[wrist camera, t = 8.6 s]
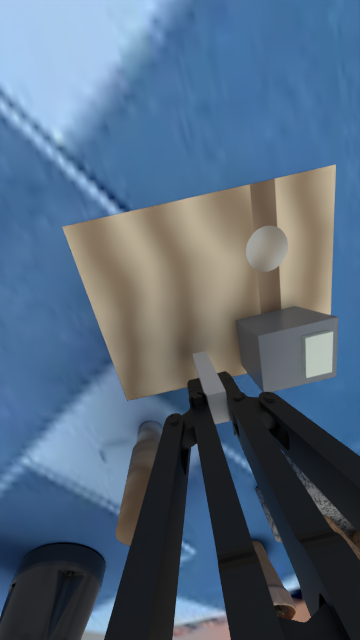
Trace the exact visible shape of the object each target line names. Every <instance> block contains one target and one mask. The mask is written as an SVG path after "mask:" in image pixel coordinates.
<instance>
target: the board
mask: <svg viewBox="0 0 360 640" xmlns="http://www.w3.org/2000/svg"><path fill="white" fill-rule="evenodd" d="M335 172H336V165H332V166H328V167H323V168H319V169H315V170H310V171H306V172H301V173H297V174H293V175H288V176H284V177H279V178H275V179H272V180H267V181H263V182H259V183H254V184H249V185H244V186H240V187H235V188H231V189H227V190H222V191H218V192H213V193H209V194H205V195H200V196H196V197H191V198H187V199H183V200H178V201H174V202H169V203H165V204H161V205H156V206H152V207H147V208H143V209H139V210H134V211H130V212H125V213H121V214H117V215H112V216H108V217H103V218H99V219H95V220H90V221H86V222H81V223H77V224H73V225H68V226H64V227H63V230H64V233H65V235H66V238H67V241H68V244H69V246H70V249H71V252H72V254H73V257H74V260H75V262H76V265H77V268H78V270H79V273H80V276H81V278H82V281H83V284H84V286H85V289H86V292H87V294H88V297H89V300H90V302H91V305H92V308H93V311H94V313H95V316H96V319H97V321H98V324H99V327H100V329H101V332H102V335H103V337H104V340H105V343H106V345H107V348H108V351H109V353H110V356H111V359H112V361H113V364H114V367H115V370H116V372H117V375H118V378H119V380H120V383H121V386H122V388H123V391H124V394H125V396H126V399H127V401H129V400H133V399H138V398H142V397H146V396H151V395H155V394H159V393H164V392H168V391H172V390H177V389H181V388H186V387H188V386H187V383H188V381H189V380H191V379H196V378H198V377H197V373H196V368H195V364H194V359H193V354H194V353H199V352H203V351H206V352H207V354H208V356H209V358H210V360H211V362H212V364H213V366H214V368H215V370H216V372H217V373H220V372H224V371H226V372H228V373H229V374H230V375H231V377H234V376H238V375H242V374H247V372H246V370H245V369H244V368H243V366H242V363H241V356H240V348H239V341H238V334H237V327H236V320H239V319H243V318H247V317H252V316H256V315H260V314H264V313H268V312H273V311H277V310H281V309H285V308H290V307H294V306H297V307H301V308H305V309H309V310H313V311H317V312H320V313H324V314H328V315H331V287H332V259H333V230H334V201H335Z"/></svg>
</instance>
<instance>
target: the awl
mask: <svg viewBox="0 0 360 640" xmlns="http://www.w3.org/2000/svg"><path fill="white" fill-rule="evenodd" d="M162 431H163V429H162V426H161V425H160V424H159V423H157V422H155V421H148V422H145V423H143V424H142V425H141V426H140V428H139V432H138V438H137V443H136V445H135V446H134V448H133V451H132V456H131V461H130V465H129V470H128V475H127V480H126V485H125V490H124V494H123V499H122V504H121V509H120V514H119V519H118V524H117V528H116V537H117V539H118V540H119V541H120V542H121V543H123V544H125V545H128V546H131V542H132V538H133V535H134V531H135V528H136V524H137V521H138V517H139V513H140V510H141V506H142V503H143V499H144V495H145V492H146V488H147V485H148V481H149V478H150V474H151V470H152V467H153V463H154V460H155V456H156V453H157V449H158V445H159V442H160V438H161V435H162Z"/></svg>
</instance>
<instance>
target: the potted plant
mask: <svg viewBox="0 0 360 640" xmlns="http://www.w3.org/2000/svg"><path fill="white" fill-rule="evenodd" d="M252 543H253V546H254V549H255V551H256V553H257V555H258V558H259V561H260V564H261V567H262V570H263V573H264V576H265V579H266V582H267V585H268V588H269V591H270V594H271V597H272V600H273V604H274V607H275V610H276V613H277V616H279V617H283V618H287V619H291V620H293V619H294V618H295V617H296V615H297V609H296V606H295V604H294V602H293V600H292V597H291V595H290V593H289V592H288V591H287V590H286V589H285V588H284V586H283V584H282V582H281V581H280V579H279V577H278V575H277V573H276V571H275V569H274V568H273V566H272V564H271V562H270V560H269V558H268V556H267V553H266V551H265V549H264V547H263V546H262V544H261V543H260V542H258V541H252Z"/></svg>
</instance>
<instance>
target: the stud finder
mask: <svg viewBox="0 0 360 640" xmlns="http://www.w3.org/2000/svg"><path fill="white" fill-rule="evenodd" d="M236 327H237V334H238V341H239V348H240V356H241V363H242V366H243V368H244V369H245V370H246V372H247V373H248V374H249V375H250V377H251V378H252V379H253V380H254V382H255V383H256V384H257V385H258V387H259V388H260V389H261V391H262V392H273V391H278V390H282V389H286V388H290V387H295V386H299V385H303V384H307V383H311V382H316V381H320V380H324V379H328V378H333V377H336V364H337V339H338V317H336V316H332V315H328V314H324V313H320V312H317V311H313V310H309V309H305V308H301V307H297V306H294V307H290V308H285V309H281V310H277V311H273V312H268V313H264V314H260V315H256V316H252V317H247V318H243V319H239V320H236Z"/></svg>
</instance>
